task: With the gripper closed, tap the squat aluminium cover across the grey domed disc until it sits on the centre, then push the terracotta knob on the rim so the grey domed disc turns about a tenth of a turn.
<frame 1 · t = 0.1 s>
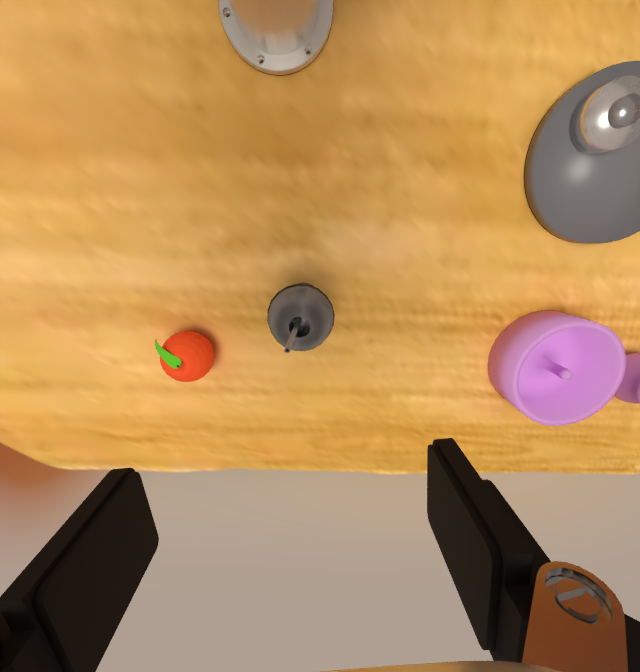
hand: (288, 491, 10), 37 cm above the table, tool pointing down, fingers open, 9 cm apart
tomato: (193, 345, 48), on the table
beverage cup: (303, 298, 46), on the table
grey domed disc: (627, 155, 39), point 4 cm above the table, hinge at 0.0°, touching cover
cover: (598, 122, 39), point 2 cm above the table, touching grey domed disc
container set: (565, 362, 50), on the table
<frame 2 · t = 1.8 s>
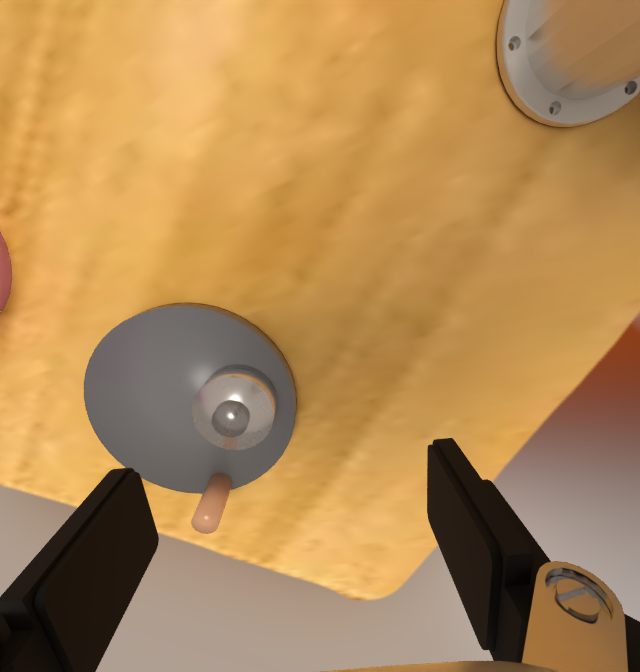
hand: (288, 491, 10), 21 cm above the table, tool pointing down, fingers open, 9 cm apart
grey domed disc: (184, 418, 30), point 4 cm above the table, hinge at 0.0°, touching cover
cover: (240, 398, 31), point 2 cm above the table, touching grey domed disc
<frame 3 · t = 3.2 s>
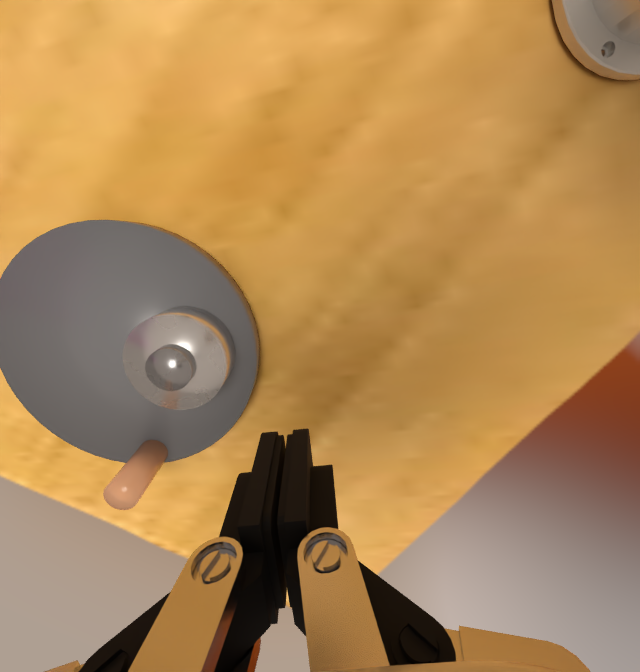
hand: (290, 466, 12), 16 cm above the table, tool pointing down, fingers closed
grey domed disc: (115, 363, 24), point 4 cm above the table, hinge at 0.0°, touching cover
cover: (190, 350, 25), point 2 cm above the table, touching grey domed disc
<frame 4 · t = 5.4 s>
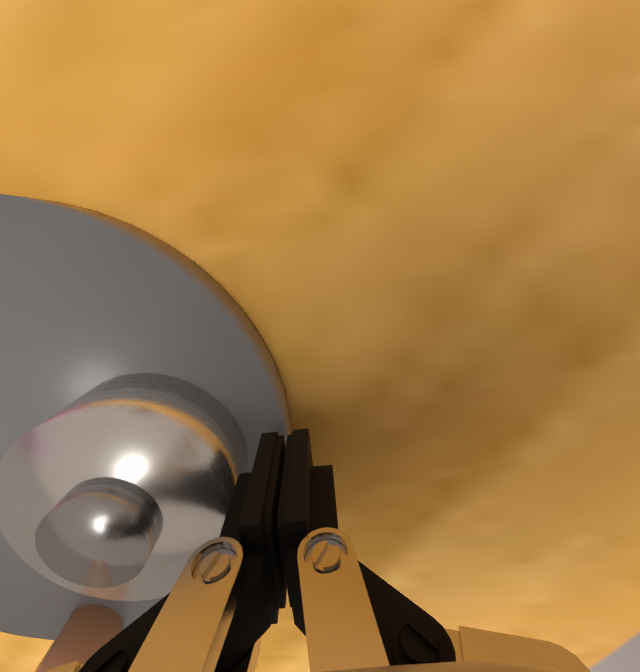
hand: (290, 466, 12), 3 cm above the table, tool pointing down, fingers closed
cover: (157, 455, 13), point 2 cm above the table, touching gripper, grey domed disc
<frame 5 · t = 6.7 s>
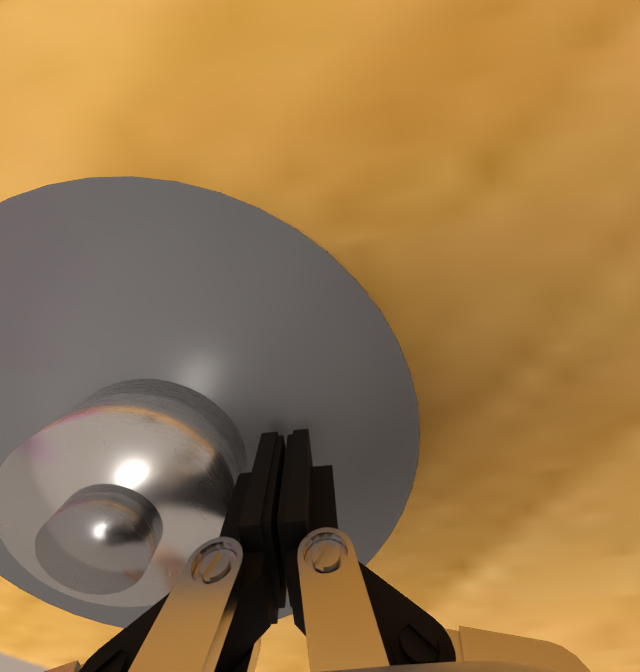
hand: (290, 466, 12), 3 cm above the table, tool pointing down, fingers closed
grey domed disc: (146, 484, 11), point 4 cm above the table, hinge at 0.2°, touching cover
cover: (157, 460, 13), point 2 cm above the table, touching gripper, grey domed disc
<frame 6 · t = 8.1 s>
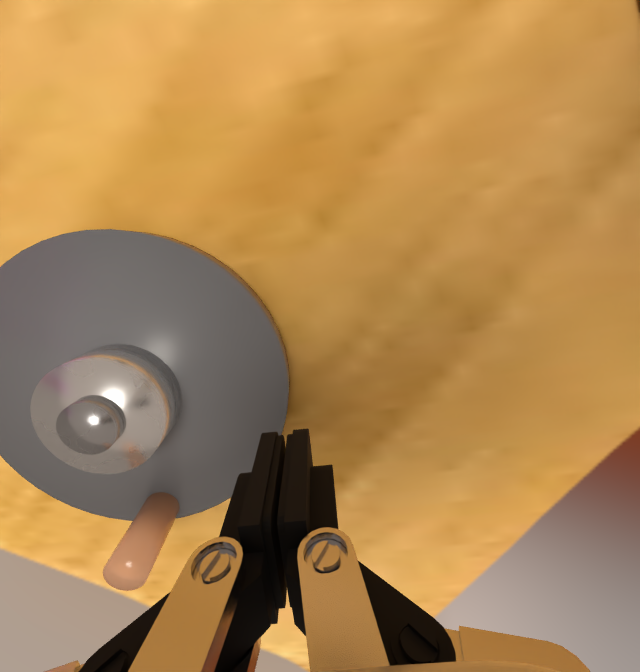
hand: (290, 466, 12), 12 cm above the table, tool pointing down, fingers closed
grey domed disc: (118, 404, 19), point 4 cm above the table, hinge at 0.2°, touching cover
cover: (126, 396, 21), point 2 cm above the table, touching grey domed disc
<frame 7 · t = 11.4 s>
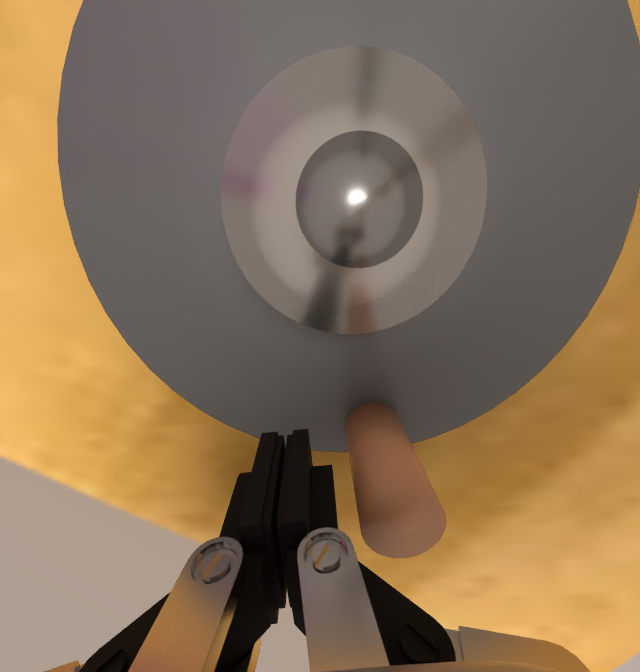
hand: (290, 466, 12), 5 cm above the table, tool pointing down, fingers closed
grey domed disc: (360, 204, 10), point 4 cm above the table, hinge at 1.4°, touching cover, gripper
cover: (344, 214, 11), point 2 cm above the table, touching grey domed disc
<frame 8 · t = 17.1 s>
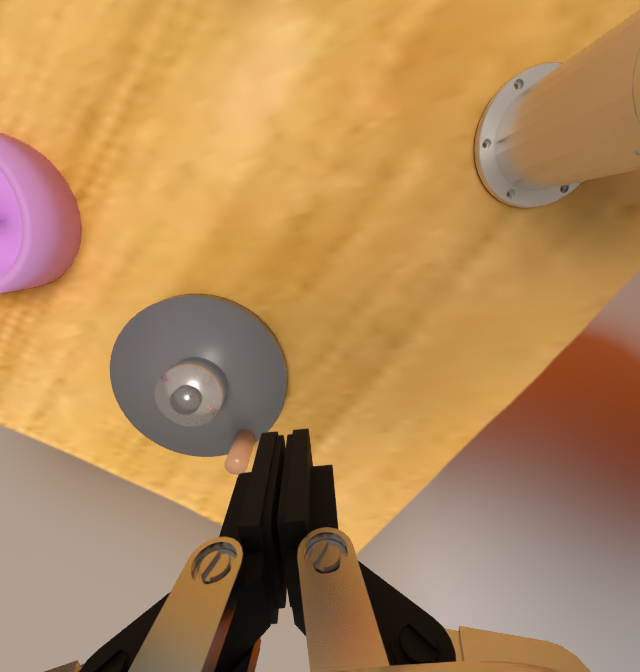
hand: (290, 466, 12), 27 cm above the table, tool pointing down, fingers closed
grey domed disc: (194, 388, 36), point 4 cm above the table, hinge at 27.8°, touching cover
cover: (197, 385, 38), point 2 cm above the table, touching grey domed disc
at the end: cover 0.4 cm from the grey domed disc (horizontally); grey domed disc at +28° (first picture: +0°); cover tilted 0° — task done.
